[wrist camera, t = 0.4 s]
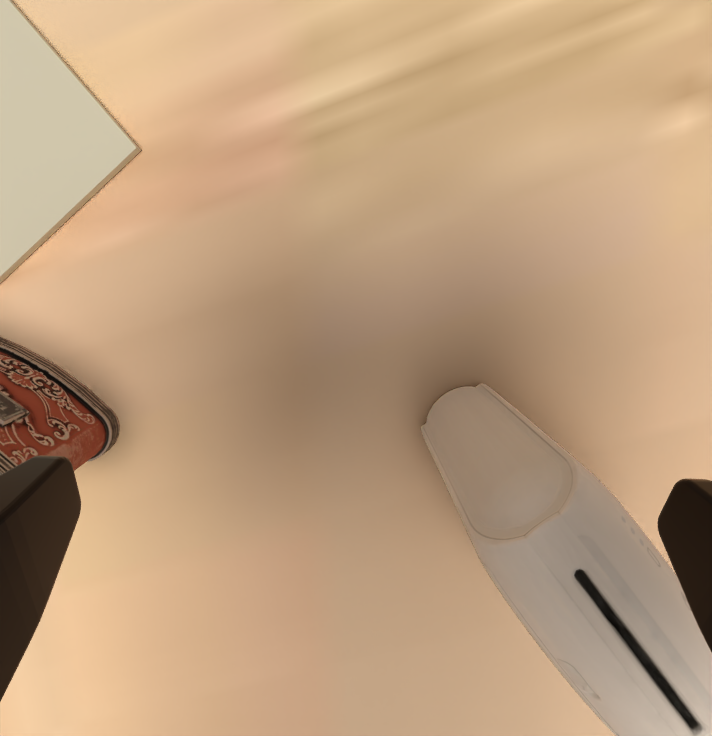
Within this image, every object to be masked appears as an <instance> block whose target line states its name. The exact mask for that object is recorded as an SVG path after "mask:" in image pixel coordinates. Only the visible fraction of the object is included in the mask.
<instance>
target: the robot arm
mask: <svg viewBox="0 0 712 736" xmlns="http://www.w3.org/2000/svg"><path fill="white" fill-rule="evenodd" d="M80 510H81V499H80V495H79V491H78V486H77V482H76V478H75V474H74V470H73V466H72V463H71V461H70V460H69V459H68V458H66V457H64V456H45V455H40V456H34V457H32V458H30V459H28V460H27V461H25V462H23V463H21V464H19V465H17V466H16V467H14V468H12V469H10V470H8V471H7V472H5V473H3V474H1V475H0V701H1V699H2V697H3V695H4V693H5V691H6V689H7V687H8V685H9V683H10V681H11V679H12V677H13V675H14V673H15V671H16V669H17V667H18V665H19V663H20V661H21V659H22V657H23V655H24V653H25V651H26V649H27V647H28V645H29V643H30V641H31V639H32V637H33V635H34V632H35V630H36V628H37V626H38V624H39V622H40V619H41V617H42V614H43V612H44V609H45V607H46V604H47V602H48V599H49V597H50V594H51V591H52V588H53V586H54V583H55V580H56V578H57V575H58V572H59V570H60V567H61V564H62V561H63V559H64V556H65V553H66V551H67V548H68V545H69V543H70V540H71V537H72V534H73V532H74V529H75V526H76V524H77V521H78V518H79V515H80ZM658 531H659V534H660V537H661V539H662V542H663V544H664V546H665V549H666V551H667V553H668V556H669V558H670V561H671V563H672V565H673V568H674V570H675V573H676V575H677V577H678V580H679V582H680V584H681V587H682V589H683V592H684V594H685V596H686V599H687V601H688V604H689V606H690V608H691V611H692V613H693V615H694V618H695V620H696V622H697V624H698V627H699V629H700V631H701V633H702V635H703V637H704V639H705V641H706V643H707V645H708V647H709V649H710V651H711V652H712V481H710V480H705V479H682V480H680V481H678V482H677V483H676V484H675V485H674V487H673V489H672V491H671V493H670V495H669V497H668V499H667V501H666V503H665V505H664V507H663V509H662V511H661V513H660V515H659V518H658Z"/></svg>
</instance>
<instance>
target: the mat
mask: <svg viewBox="0 0 712 736" xmlns="http://www.w3.org/2000/svg"><path fill="white" fill-rule="evenodd" d="M140 151H141V149H140V148H139V147H138V146H137V145H136V144H135V142H134V141H133V140H132V139H131V138H130V137H129V135H128V134H127V133H126V132H125V131H124V130H123V129H122V127H121V126H120V125H119V124H118V123H117V122H116V120H115V119H114V118H113V117H112V116H111V115H110V113H109V112H108V111H107V110H106V109H105V108H104V107H103V105H102V104H101V103H100V102H99V101H98V100H97V98H96V97H95V96H94V95H93V94H92V93H91V91H90V90H89V89H88V88H87V87H86V86H85V85H84V83H83V82H82V81H81V80H80V79H79V78H78V76H77V75H76V74H75V73H74V72H73V71H72V70H71V68H70V67H69V66H68V65H67V64H66V63H65V61H64V60H63V59H62V58H61V57H60V56H59V54H58V53H57V52H56V51H55V50H54V49H53V48H52V46H51V45H50V44H49V43H48V42H47V41H46V39H45V38H44V37H43V36H42V35H41V34H40V33H39V31H38V30H37V29H36V28H35V27H34V26H33V24H32V23H31V22H30V21H29V20H28V19H27V17H26V16H25V15H24V14H23V13H22V12H21V11H20V9H19V8H18V7H17V6H16V5H15V4H14V2H13V1H12V0H0V283H1V282H3V281H4V280H5V279H6V278H7V277H8V276H9V275H10V274H11V273H12V272H13V271H14V270H15V269H16V268H17V267H18V266H19V265H21V264H22V263H23V262H24V261H25V260H26V259H27V258H28V257H29V256H30V255H31V254H32V253H33V252H34V251H35V250H36V249H38V248H39V247H40V246H41V245H42V244H43V243H44V242H45V241H46V240H47V239H48V238H49V237H50V236H51V235H52V234H53V233H54V232H56V231H57V230H58V229H59V228H60V227H61V226H62V225H63V224H64V223H65V222H66V221H67V220H68V219H69V218H70V217H71V216H72V215H74V214H75V213H76V212H77V211H78V210H79V209H80V208H81V207H82V206H83V205H84V204H85V203H86V202H87V201H88V200H89V199H90V198H92V197H93V196H94V195H95V194H96V193H97V192H98V191H99V190H100V189H101V188H102V187H103V186H104V185H105V184H106V183H107V182H108V181H110V180H111V179H112V178H113V177H114V176H115V175H116V174H117V173H118V172H119V171H120V170H121V169H122V168H123V167H124V166H125V165H127V164H128V163H129V162H130V161H131V160H132V159H133V158H134V157H135V156H136V155H137V154H138V153H139V152H140Z"/></svg>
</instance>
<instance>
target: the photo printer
mask: <svg viewBox="0 0 712 736" xmlns="http://www.w3.org/2000/svg"><path fill="white" fill-rule="evenodd" d="M421 432H422V435H423V437H424V440H425V442H426V444H427V447H428V449H429V451H430V453H431V455H432V457H433V459H434V462H435V464H436V466H437V468H438V470H439V472H440V474H441V476H442V479H443V481H444V483H445V485H446V487H447V489H448V492H449V494H450V496H451V498H452V500H453V502H454V504H455V507H456V509H457V511H458V513H459V515H460V518H461V520H462V522H463V524H464V526H465V529H466V531H467V533H468V535H469V537H470V540H471V542H472V544H473V546H474V548H475V550H476V552H477V554H478V556H479V559H480V561H481V563H482V565H483V566H484V568H485V570H486V571H487V573H488V575H489V576H490V578H491V579H492V581H493V582H494V584H495V585H496V587H497V588H498V589H499V591H500V592H501V594H502V595H503V597H504V598H505V600H506V601H507V603H508V604H509V606H510V607H511V609H512V610H513V611H514V613H515V614H516V616H517V617H518V618H519V620H520V621H521V622H522V624H523V625H524V627H525V628H526V629H527V631H528V632H529V633H530V635H531V636H532V637H533V639H534V640H535V641H536V643H537V644H538V645H539V647H540V648H541V649H542V650H543V652H544V653H545V654H546V656H547V657H548V658H549V659H550V661H551V662H552V663H553V665H554V666H555V667H556V668H557V670H558V671H559V672H560V673H561V674H562V676H563V677H564V678H565V679H566V680H567V682H568V683H569V684H570V685H571V687H572V688H573V689H574V690H575V691H576V692H577V694H578V695H579V696H580V697H581V698H582V699H583V700H584V702H585V703H586V704H587V705H588V706H589V707H590V708H591V710H592V711H593V712H594V713H595V714H596V715H597V716H598V717H599V718H600V720H601V721H602V722H603V723H604V724H605V725H606V726H607V727H608V728H609V729H610V730H611V731H612V732H613V733H614V734H615V735H616V736H712V652H711V651H710V649H709V647H708V645H707V643H706V641H705V639H704V637H703V635H702V633H701V631H700V629H699V627H698V624H697V622H696V620H695V618H694V615H693V613H692V611H691V608H690V606H689V604H688V601H687V599H686V596H685V594H684V592H683V589H682V587H681V584H680V582H679V580H678V577H677V576H676V574H675V573H674V572H673V570H672V569H671V568H670V566H669V565H668V563H667V562H666V561H665V559H664V558H663V557H662V555H661V554H660V553H659V551H658V550H657V549H656V547H655V546H654V545H653V544H652V542H651V541H650V540H649V538H648V537H647V536H646V535H645V533H644V532H643V531H642V529H641V528H640V527H639V526H638V524H637V523H636V522H635V521H634V520H633V518H632V517H631V516H630V515H629V513H628V512H627V511H626V510H625V509H624V507H623V506H622V505H621V504H620V502H619V501H618V500H617V499H616V498H615V497H614V495H613V494H612V493H611V492H610V491H609V490H608V489H607V488H606V487H605V486H604V485H603V484H602V483H601V481H600V480H599V479H598V478H597V477H596V476H595V475H593V474H592V473H591V472H590V471H589V470H588V469H587V468H586V467H584V466H583V465H582V464H581V463H580V462H579V461H578V460H576V459H575V458H574V457H573V456H572V455H571V454H569V453H568V452H567V451H566V450H565V449H563V448H562V447H561V446H560V445H559V444H557V443H556V442H555V441H554V440H553V439H551V438H550V437H549V436H548V435H547V434H546V433H544V432H543V431H542V430H541V429H540V428H539V427H537V426H536V425H535V424H534V423H533V422H531V421H530V420H529V419H528V418H527V417H526V416H524V415H523V414H522V413H521V412H520V411H518V410H517V409H516V408H515V407H514V406H512V405H511V404H510V403H509V402H507V401H506V400H505V399H504V398H502V397H501V396H500V395H499V394H498V393H496V392H495V391H494V390H492V389H491V388H490V387H489V386H487V385H485V384H482V383H480V384H478V385H477V386H476V387H472V386H464V387H459V388H456V389H453V390H451V391H449V392H447V393H445V394H444V395H442V396H441V397H440V398H439V399H438V400H437V401H436V402H435V403H434V404H433V406H432V407H431V409H430V411H429V413H428V416H427V422H426V423H425V424H424V425H422V426H421Z"/></svg>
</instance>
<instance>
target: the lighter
mask: <svg viewBox="0 0 712 736" xmlns="http://www.w3.org/2000/svg"><path fill="white" fill-rule="evenodd" d="M118 435H119V422H118V419H117V416H116V415H115V414H114V412H113V411H112V410H111V409H110V408H109V407H108V406H107V405H106V404H105V403H103V402H102V401H101V400H100V399H99V398H98V397H97V396H96V395H95V394H94V393H92V392H91V391H90V390H89V389H88V388H87V387H86V386H84V385H83V384H82V383H80V382H79V381H78V380H76V379H75V378H73V377H72V376H71V375H69V374H68V373H67V372H65V371H64V370H62V369H61V368H60V367H58V366H57V365H55V364H54V363H52V362H50V361H48V360H46V359H45V358H43V357H41V356H39V355H37V354H35V353H34V352H32V351H30V350H28V349H26V348H25V347H23V346H20V345H18V344H15V343H13V342H11V341H8V340H6V339H3V338H1V337H0V475H1V474H3V473H5V472H7V471H8V470H10V469H12V468H14V467H16V466H17V465H19V464H21V463H23V462H25V461H27V460H28V459H30V458H32V457H34V456H40V455H45V456H64V457H66V458H68V459H69V460H70V461H71V463H72V466H73V470H76V469H77V468H78V467H80V466H81V465H82V464H84V463H85V462H87V461H92V460H94V459H96V458H98V457H100V456H101V455H103V454H104V453H105V452H107V451H108V450H109V449H110V448H111V447H112V446H113V445H114V444H115V442H116V440H117V438H118Z"/></svg>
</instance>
